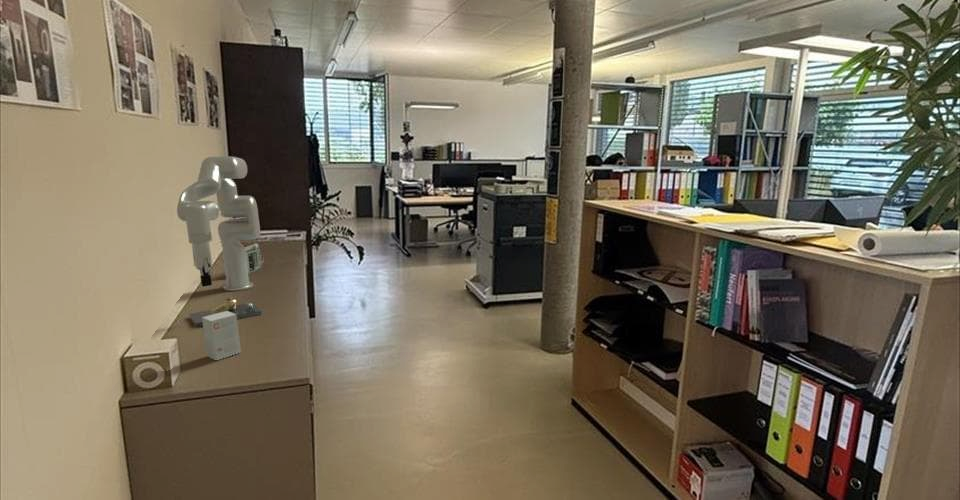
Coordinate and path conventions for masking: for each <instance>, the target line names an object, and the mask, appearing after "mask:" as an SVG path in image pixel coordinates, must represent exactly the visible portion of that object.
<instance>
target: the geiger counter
mask: <svg viewBox="0 0 960 500" xmlns="http://www.w3.org/2000/svg"><path fill="white" fill-rule="evenodd" d="M244 248H245V250H246V259H247V268H248V273H249V274H251V273H250V272H252V273H254V272H256V271H255V270H257V269H259V268H262V264H263V263H264V261H265V259H264V257H263V255H262V254H261V250H260V247H259V244H258V243H253V244H250V245H248V246H245V247H244ZM262 269H263V268H262ZM253 271H254V272H253ZM257 271H258V270H257Z"/></svg>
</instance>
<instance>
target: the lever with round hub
mask: <svg viewBox="0 0 960 500" xmlns="http://www.w3.org/2000/svg"><path fill="white" fill-rule="evenodd" d="M237 302H238V301H237V298H234V297H227V298H226V299H224V300H223V303H222V304H220V305H218V306H216V307H214V308H213V309H210V310H211V311H210V313H211V315H213V314H217V313H221V312H225V311H232V310H236V309H237V305H238V304H237Z"/></svg>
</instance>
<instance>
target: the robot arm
mask: <svg viewBox="0 0 960 500" xmlns="http://www.w3.org/2000/svg"><path fill="white" fill-rule="evenodd" d="M198 173H199V174H198V177H197V181H195V182H194V183H192V184H191V185H189V186H188V187H187V188H186V189H184V190H183V191H182V192H181V194H180V196H179V199H178V202H177V208H176V209H177V210H176V213H177V217H178V218H179V220H181V221H182V222H186V223H185V224H186V230H187V237H188V243H189V244H191V248H192V259H193V266H194V267H195V268H196V269H197V270H198V271H199V273H200V283H201V286H202V287H207V286H212V283H213V282H212V276H211V270H210V269H211V268H212V267H213V263H212V262H213V261H212V253H211V247H210V242H213V239H212V238H213V237H212V236H213V235H212V230H211V223H210V221H215V220H217V219H218V218H219V217H220V216H221V217H223V218H242V219H226V220H223V221H220V223H218V225H217V233H218V236H219V239H220V244H221V249H222V256H223V257H222V258H223V264H224V273H225V280H226V284H225V285H223V287H222V288H223V290H224V291H227V292H228V291H230V292H231V291H232V292H233V291H243V290H248V289H251V288H252V287H253V286H254V284H253V282H252V281H250V277H249V274H248V268H247V259H246V250H245V248H244V245H243V244H242V243H241V241H254V240H257V239H259V238H260V235H261V226H260V218H259V209H258V205H257V201H256V199H255V197H253V196H252V195H239V194H238V188H237V184H236V182H235V181H234V180H233V179H245V177H246V176H248V175H247V174H248V165H247V162H246V160H244V159H243V158H240V157H236V156H227V155H226V156H209V157H206V158H204V159H203V160H202V162H201V165H200V169H199V172H198ZM213 195H216V201H214V200H202V199H205V198H209V197H211V196H213ZM243 218H246V219H243Z"/></svg>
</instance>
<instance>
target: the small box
mask: <svg viewBox="0 0 960 500" xmlns="http://www.w3.org/2000/svg"><path fill="white" fill-rule="evenodd" d="M202 323H203V326H202V327H203V328H202V329H203V336H204V343H205V348H206V350H205V351H206V356H207V357H208V358H209V357H210V359H211V358H212V359H211V360H213V359H214V360H213V361H215V360H218V361H219V360H220V359H221V360H223V358H224V359H226V357H227V358H229V356H230V357H232V355H233V356H235V354H236V355H239V354H241V353H242V351H241V350H242V349H241V343H240V342H241V341H240V335H239V327H238V319H237V317H236V314H234V313H231V312H229V311H225V312H221V313H217V314H213V315H209V316H205V317H202ZM238 353H239V354H238Z"/></svg>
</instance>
